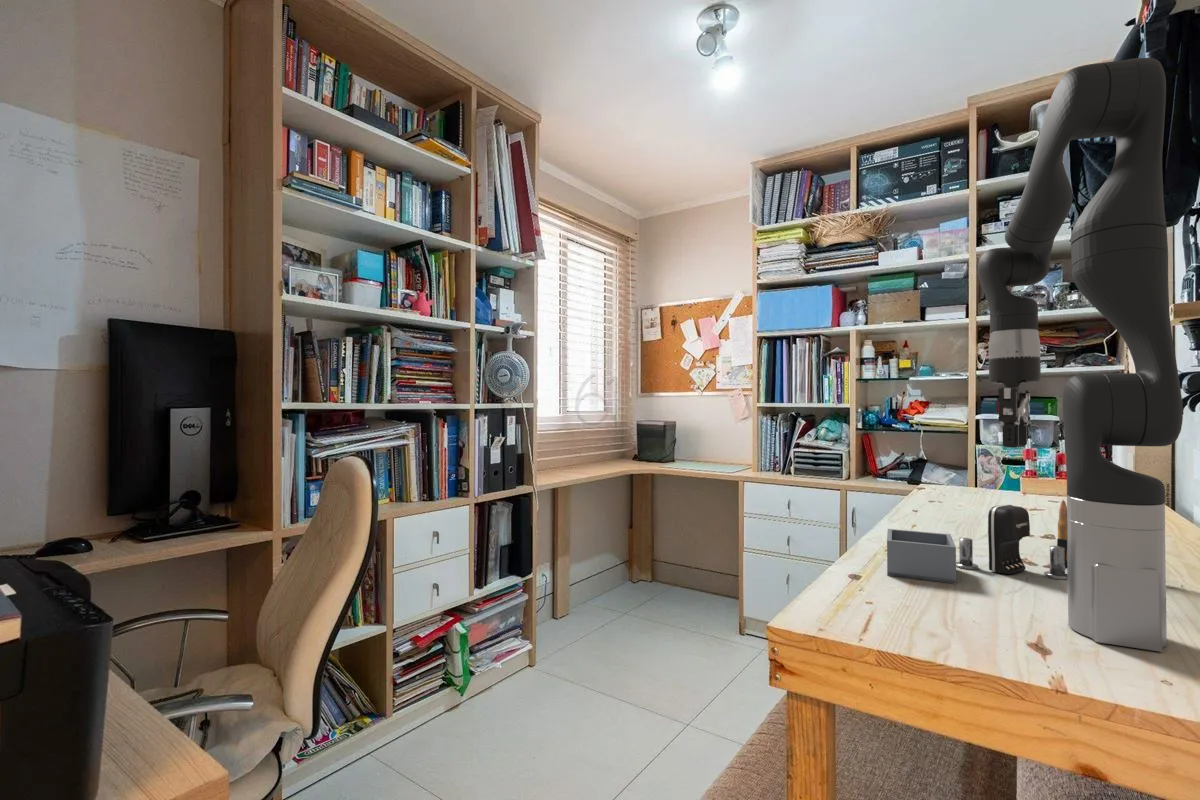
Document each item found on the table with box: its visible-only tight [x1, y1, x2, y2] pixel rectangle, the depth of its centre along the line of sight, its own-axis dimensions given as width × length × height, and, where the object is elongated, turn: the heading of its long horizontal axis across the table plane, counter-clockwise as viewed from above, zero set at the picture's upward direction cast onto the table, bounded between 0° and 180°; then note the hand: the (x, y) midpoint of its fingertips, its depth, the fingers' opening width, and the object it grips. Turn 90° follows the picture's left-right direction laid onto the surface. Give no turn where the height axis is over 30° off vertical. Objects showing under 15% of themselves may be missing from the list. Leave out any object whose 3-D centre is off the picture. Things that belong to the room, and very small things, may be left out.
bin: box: [886, 528, 957, 584], centre depth 98 cm, size 10×10×6 cm
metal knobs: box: [956, 537, 1068, 581], centre depth 97 cm, size 4×17×5 cm, turn 62°
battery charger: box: [987, 504, 1031, 575], centre depth 97 cm, size 7×4×11 cm, turn 117°
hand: (1015, 446), depth 100 cm, fingers open, 8 cm apart
